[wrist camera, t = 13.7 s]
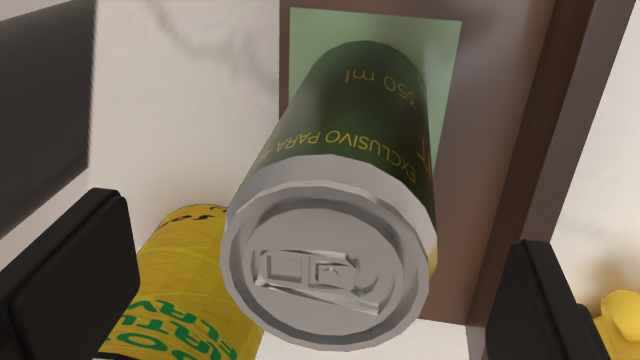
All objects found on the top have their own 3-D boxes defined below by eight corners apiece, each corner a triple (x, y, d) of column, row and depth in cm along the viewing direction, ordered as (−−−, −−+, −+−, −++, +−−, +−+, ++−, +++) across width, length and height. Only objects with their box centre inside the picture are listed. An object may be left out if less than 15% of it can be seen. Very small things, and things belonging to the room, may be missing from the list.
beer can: (303, 146, 23) (218, 341, 13) (305, 31, 20) (198, 162, 10) (417, 157, 23) (423, 372, 12) (435, 40, 20) (460, 191, 10)
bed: (291, 259, 32) (259, 350, 25) (297, -92, 22) (249, -88, 15) (479, 287, 30) (497, 391, 24) (581, -75, 20) (660, -64, 14)
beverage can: (145, 195, 31) (13, 342, 21) (283, 214, 30) (216, 378, 20) (162, 299, 36) (60, 462, 25) (282, 319, 34) (227, 496, 24)
